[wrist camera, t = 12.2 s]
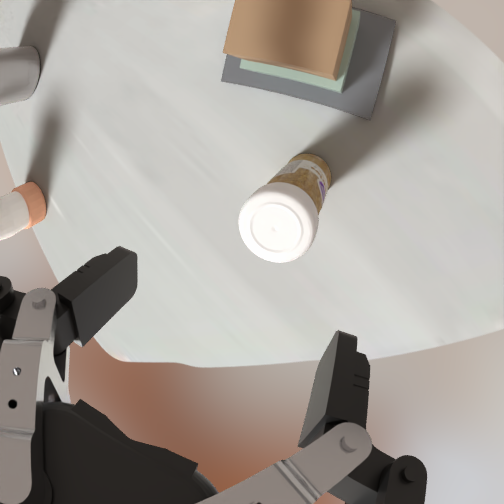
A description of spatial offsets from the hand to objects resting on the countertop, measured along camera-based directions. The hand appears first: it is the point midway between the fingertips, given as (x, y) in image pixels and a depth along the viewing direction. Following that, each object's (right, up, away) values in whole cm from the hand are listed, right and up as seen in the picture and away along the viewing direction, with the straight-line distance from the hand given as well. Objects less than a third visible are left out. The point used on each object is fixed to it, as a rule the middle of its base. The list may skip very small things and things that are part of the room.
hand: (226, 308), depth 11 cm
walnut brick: (+4, +18, +8) cm, 20 cm away
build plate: (+6, +20, +12) cm, 24 cm away
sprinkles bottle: (+6, +9, +18) cm, 21 cm away
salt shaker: (-36, +11, +32) cm, 49 cm away
